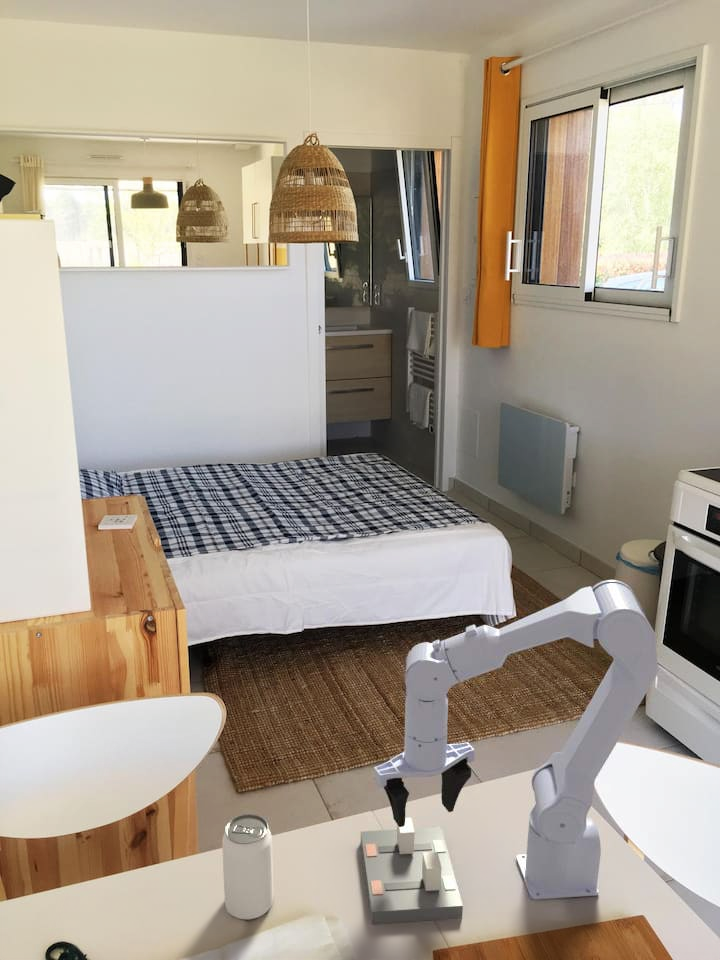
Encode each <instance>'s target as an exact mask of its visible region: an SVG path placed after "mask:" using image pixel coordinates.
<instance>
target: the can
mask: <svg viewBox="0 0 720 960" xmlns="http://www.w3.org/2000/svg"><path fill="white" fill-rule="evenodd" d="M221 843H222V844H221V846H222V867H223V869H222V871H223V872H222V873H223V889H224V890H223V891H224V893H223V894H224V904H225V909H226V911H227V912H228V913H229V914H230V915H231V916H232V917H233V918H234V917H235V918H236V919H238V920H242V921H243V920H244V921H251V920H256V919H258V918H260V917H262V916H263V915H265V914H266V913H267V912H268V911H269V910H270V909H271V907H272V905H273V902H274V868H273V867H274V863H273V862H274V860H273V836H272V833H271V829H270V828H269V823H268V821H267V820H266V819H265V818H264V817H263V816H260V815H258V814H254V813H244V814H239V815H237V816H235V817H233V818H232V819H230V820H228V822H227V824H226V825H225V828H224V834H223V836H222V842H221Z"/></svg>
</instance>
